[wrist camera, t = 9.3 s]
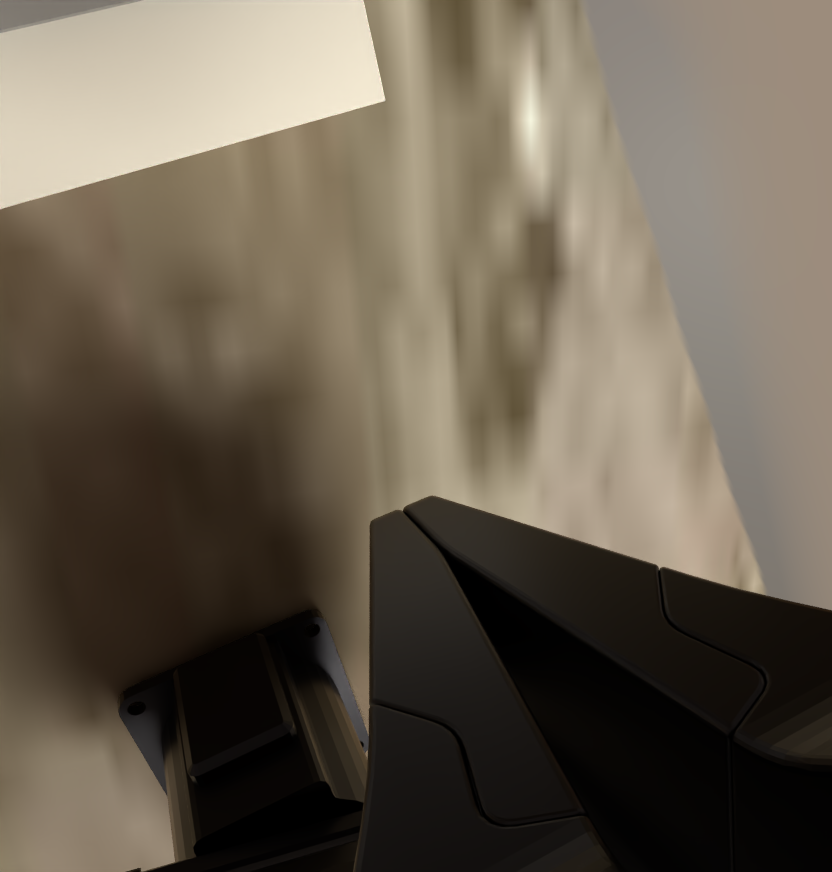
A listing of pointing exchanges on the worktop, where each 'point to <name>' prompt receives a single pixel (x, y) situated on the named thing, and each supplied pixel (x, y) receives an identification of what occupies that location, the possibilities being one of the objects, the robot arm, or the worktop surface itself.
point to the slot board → (166, 81)
